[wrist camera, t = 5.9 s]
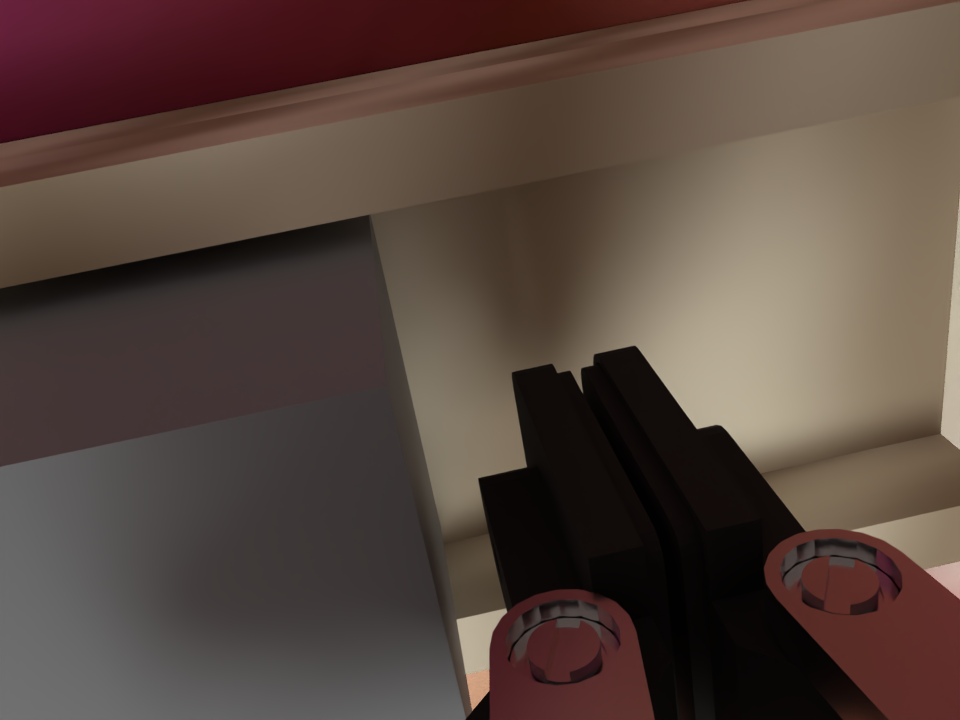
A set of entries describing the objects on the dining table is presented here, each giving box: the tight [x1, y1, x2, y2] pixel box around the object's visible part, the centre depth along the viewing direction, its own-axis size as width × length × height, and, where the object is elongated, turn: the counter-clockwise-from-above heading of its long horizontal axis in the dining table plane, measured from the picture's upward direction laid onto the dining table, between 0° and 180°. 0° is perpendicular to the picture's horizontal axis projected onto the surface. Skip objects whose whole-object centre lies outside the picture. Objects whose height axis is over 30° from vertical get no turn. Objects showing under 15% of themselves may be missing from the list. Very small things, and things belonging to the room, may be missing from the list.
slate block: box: [0, 215, 472, 720], centre depth 12 cm, size 6×6×6 cm
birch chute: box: [0, 0, 960, 674], centre depth 14 cm, size 26×9×4 cm, turn 99°
